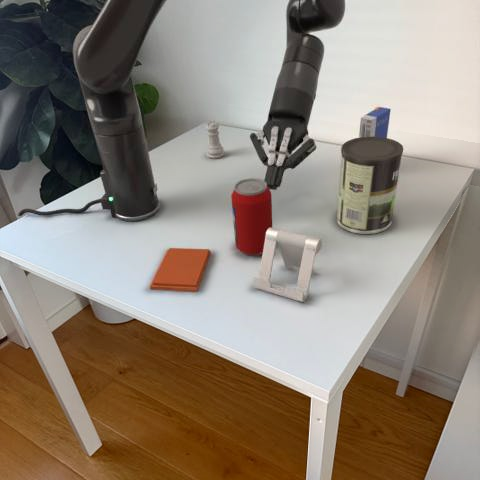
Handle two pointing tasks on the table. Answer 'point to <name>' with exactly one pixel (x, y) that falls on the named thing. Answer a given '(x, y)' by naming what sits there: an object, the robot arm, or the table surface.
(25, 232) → the table surface
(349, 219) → the coffee can
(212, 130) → the rook chess piece
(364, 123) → the walkman
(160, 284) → the folded cloth
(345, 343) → the table surface
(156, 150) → the table surface
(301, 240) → the tablet stand
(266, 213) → the beverage can
